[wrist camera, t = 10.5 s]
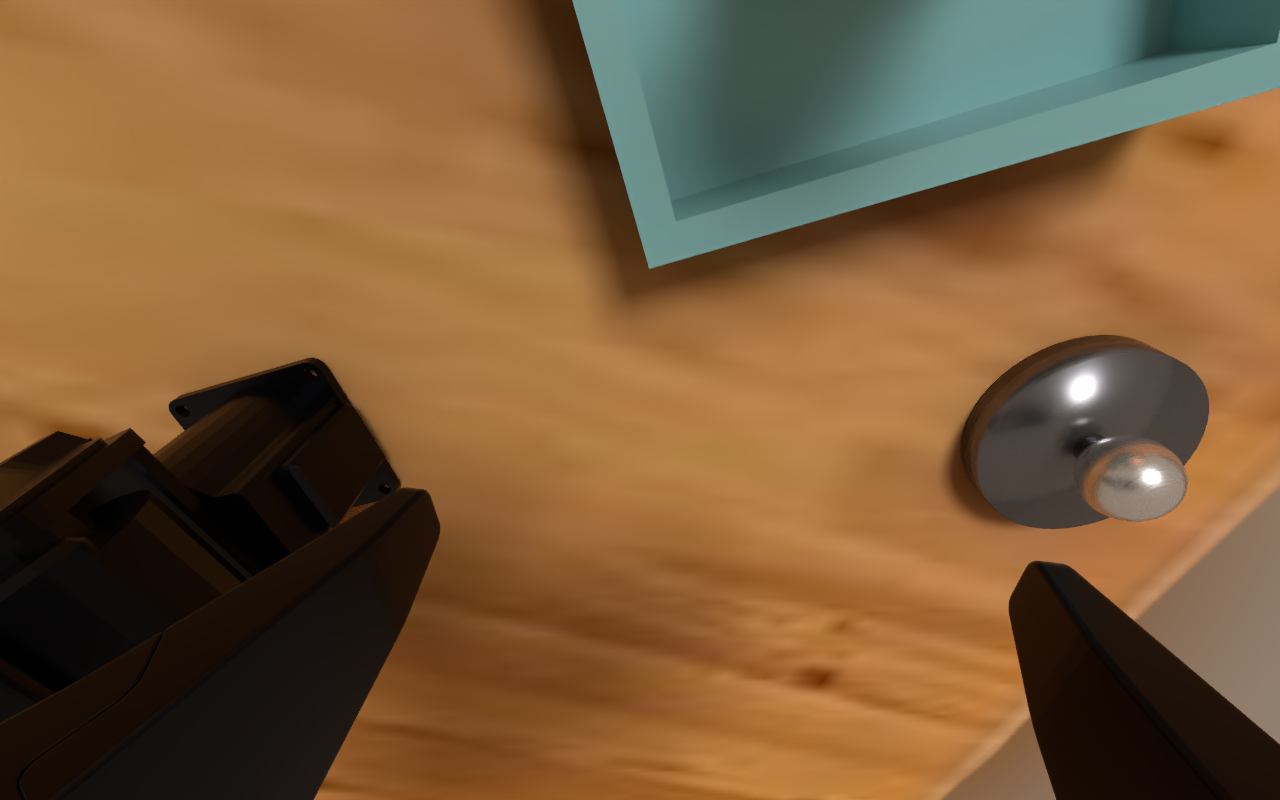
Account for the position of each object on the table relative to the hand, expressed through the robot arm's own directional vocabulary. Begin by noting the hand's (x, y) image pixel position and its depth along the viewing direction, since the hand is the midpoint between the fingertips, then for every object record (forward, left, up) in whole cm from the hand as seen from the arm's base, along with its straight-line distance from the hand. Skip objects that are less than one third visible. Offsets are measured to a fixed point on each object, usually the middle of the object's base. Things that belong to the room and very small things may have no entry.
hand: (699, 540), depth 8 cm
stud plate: (+14, -10, -12) cm, 21 cm away
